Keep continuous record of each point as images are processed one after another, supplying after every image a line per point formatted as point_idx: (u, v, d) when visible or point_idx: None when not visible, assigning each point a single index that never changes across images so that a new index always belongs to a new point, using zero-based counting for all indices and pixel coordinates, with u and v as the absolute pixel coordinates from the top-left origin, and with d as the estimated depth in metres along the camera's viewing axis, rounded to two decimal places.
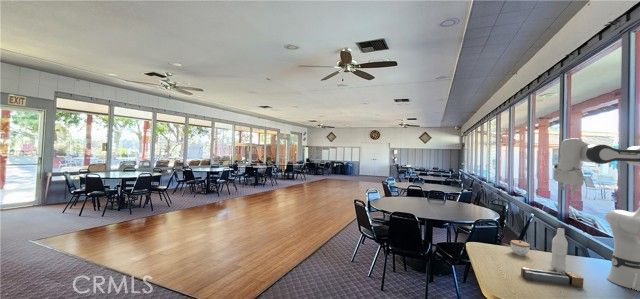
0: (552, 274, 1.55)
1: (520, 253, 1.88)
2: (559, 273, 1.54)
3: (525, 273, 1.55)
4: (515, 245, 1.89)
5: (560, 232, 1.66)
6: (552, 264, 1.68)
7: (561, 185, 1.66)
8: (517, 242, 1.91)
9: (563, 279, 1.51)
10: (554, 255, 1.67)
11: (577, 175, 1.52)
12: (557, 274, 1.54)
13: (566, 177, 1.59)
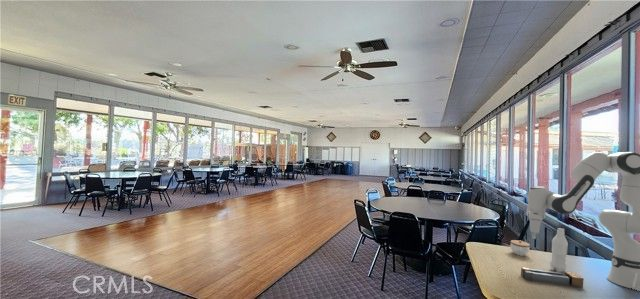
0: (552, 274, 1.55)
1: (520, 253, 1.88)
2: (559, 273, 1.54)
3: (525, 273, 1.55)
4: (515, 245, 1.89)
5: (560, 232, 1.66)
6: (552, 264, 1.68)
7: None
8: (517, 242, 1.91)
9: (563, 279, 1.51)
10: (554, 255, 1.67)
11: None
12: (557, 274, 1.54)
13: None
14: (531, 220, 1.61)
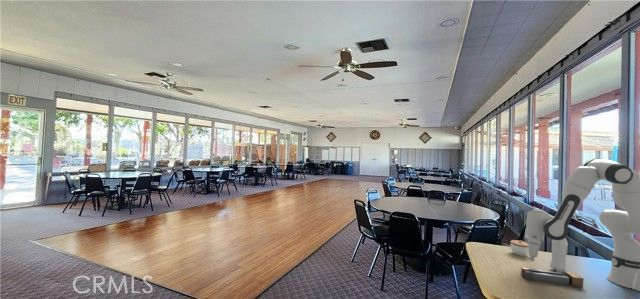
0: (552, 274, 1.55)
1: (520, 253, 1.88)
2: (559, 273, 1.54)
3: (525, 273, 1.55)
4: (515, 245, 1.89)
5: None
6: (552, 264, 1.68)
7: None
8: (517, 242, 1.91)
9: (563, 279, 1.51)
10: (554, 255, 1.67)
11: None
12: (557, 274, 1.54)
13: None
14: (530, 244, 1.61)
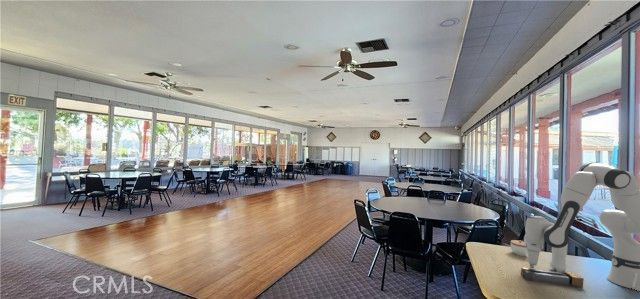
0: (552, 274, 1.55)
1: (520, 253, 1.88)
2: (559, 273, 1.54)
3: (525, 273, 1.55)
4: (515, 245, 1.89)
5: None
6: (552, 264, 1.68)
7: None
8: (517, 242, 1.91)
9: (563, 279, 1.51)
10: (554, 255, 1.67)
11: None
12: (557, 274, 1.54)
13: None
14: (529, 251, 1.58)
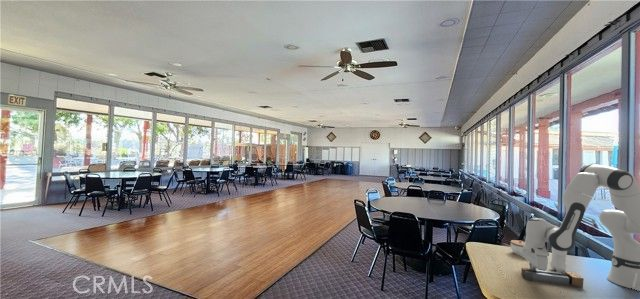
0: (552, 274, 1.55)
1: (520, 253, 1.88)
2: (559, 273, 1.54)
3: (525, 273, 1.55)
4: (515, 245, 1.89)
5: None
6: (552, 264, 1.68)
7: None
8: (517, 242, 1.91)
9: (563, 279, 1.51)
10: (554, 255, 1.67)
11: None
12: (557, 274, 1.54)
13: None
14: (538, 257, 1.51)
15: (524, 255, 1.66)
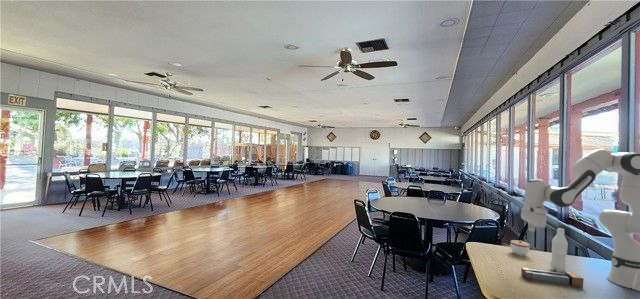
0: (552, 274, 1.55)
1: (520, 253, 1.88)
2: (559, 273, 1.54)
3: (525, 273, 1.55)
4: (515, 245, 1.89)
5: (560, 232, 1.66)
6: (552, 264, 1.68)
7: None
8: (517, 242, 1.91)
9: (563, 279, 1.51)
10: (554, 255, 1.67)
11: None
12: (557, 274, 1.54)
13: None
14: (537, 215, 1.55)
15: (523, 217, 1.70)
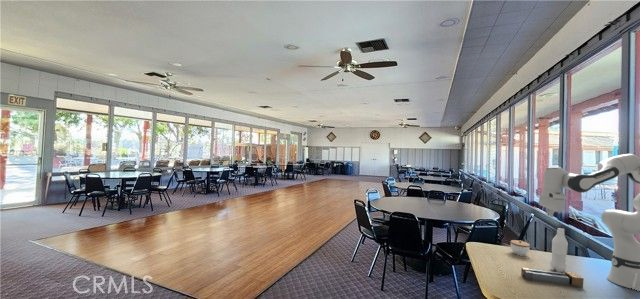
0: (552, 274, 1.55)
1: (520, 253, 1.88)
2: (559, 273, 1.54)
3: (525, 273, 1.55)
4: (515, 245, 1.89)
5: (560, 232, 1.66)
6: (552, 264, 1.68)
7: None
8: (517, 242, 1.91)
9: (563, 279, 1.51)
10: (554, 255, 1.67)
11: None
12: (557, 274, 1.54)
13: None
14: (556, 200, 1.63)
15: (541, 203, 1.78)
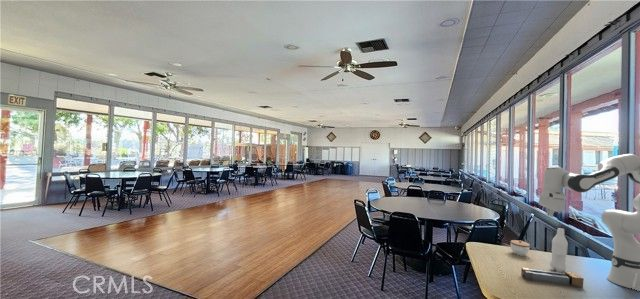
0: (552, 274, 1.55)
1: (520, 253, 1.88)
2: (559, 273, 1.54)
3: (525, 273, 1.55)
4: (515, 245, 1.89)
5: (560, 232, 1.66)
6: (552, 264, 1.68)
7: None
8: (517, 242, 1.91)
9: (563, 279, 1.51)
10: (554, 255, 1.67)
11: None
12: (557, 274, 1.54)
13: None
14: (556, 200, 1.63)
15: (541, 203, 1.78)
